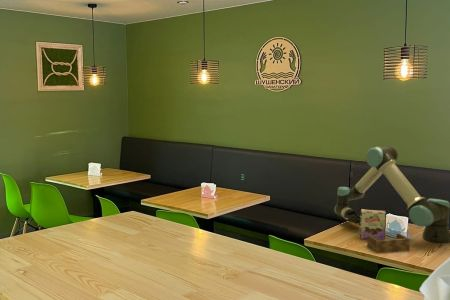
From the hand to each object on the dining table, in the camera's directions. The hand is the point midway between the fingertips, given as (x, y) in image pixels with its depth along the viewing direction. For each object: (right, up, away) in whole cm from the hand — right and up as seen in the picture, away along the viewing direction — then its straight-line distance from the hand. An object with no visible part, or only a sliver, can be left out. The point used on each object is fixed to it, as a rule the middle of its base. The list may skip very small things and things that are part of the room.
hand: (367, 224), depth 267 cm
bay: (+5, -9, -19) cm, 22 cm away
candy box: (+1, -8, -3) cm, 8 cm away
